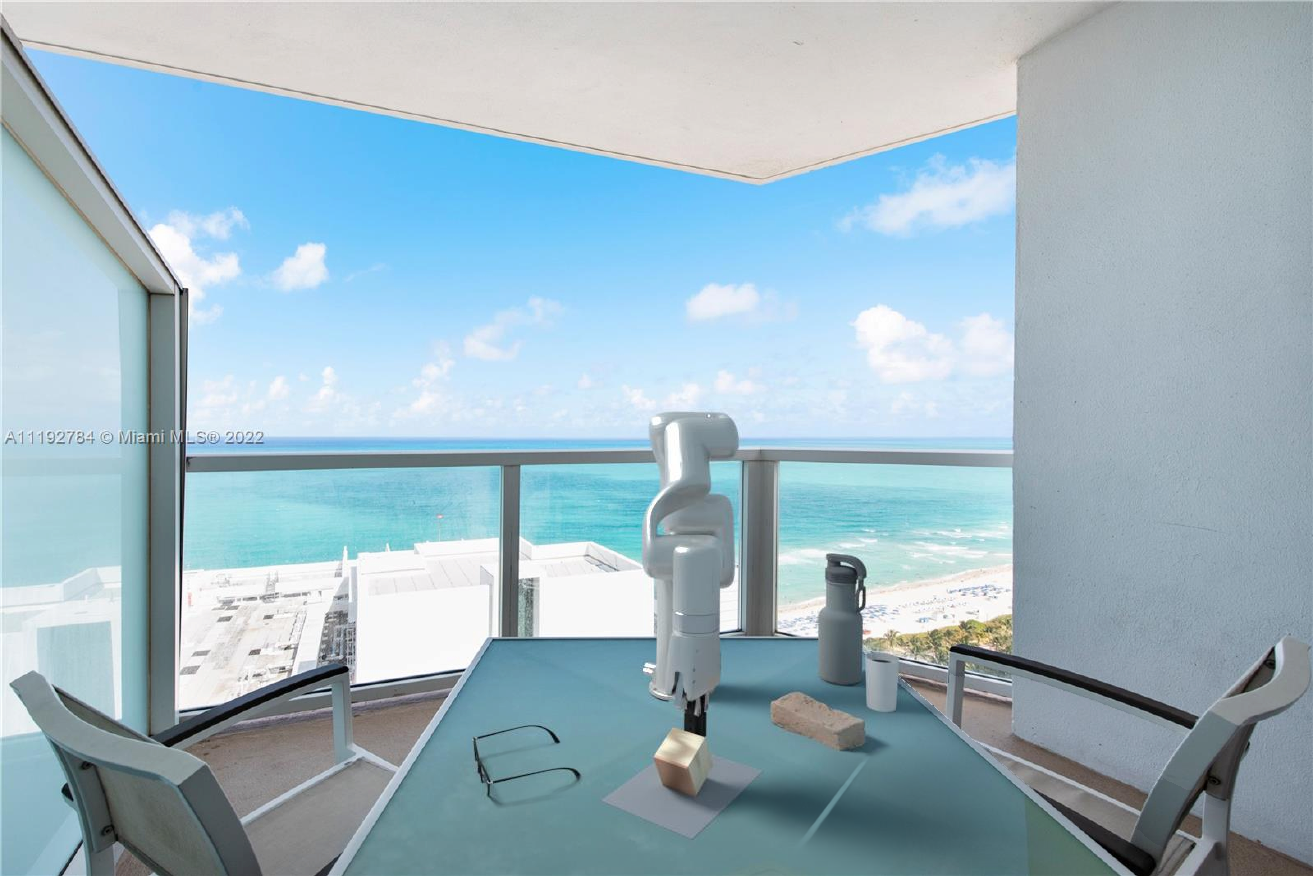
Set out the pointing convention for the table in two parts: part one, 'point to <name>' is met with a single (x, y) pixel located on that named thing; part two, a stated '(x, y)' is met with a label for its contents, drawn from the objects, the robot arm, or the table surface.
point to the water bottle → (842, 621)
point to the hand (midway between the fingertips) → (695, 736)
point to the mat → (683, 797)
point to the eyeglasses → (481, 766)
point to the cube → (683, 761)
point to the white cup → (881, 681)
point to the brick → (818, 721)
